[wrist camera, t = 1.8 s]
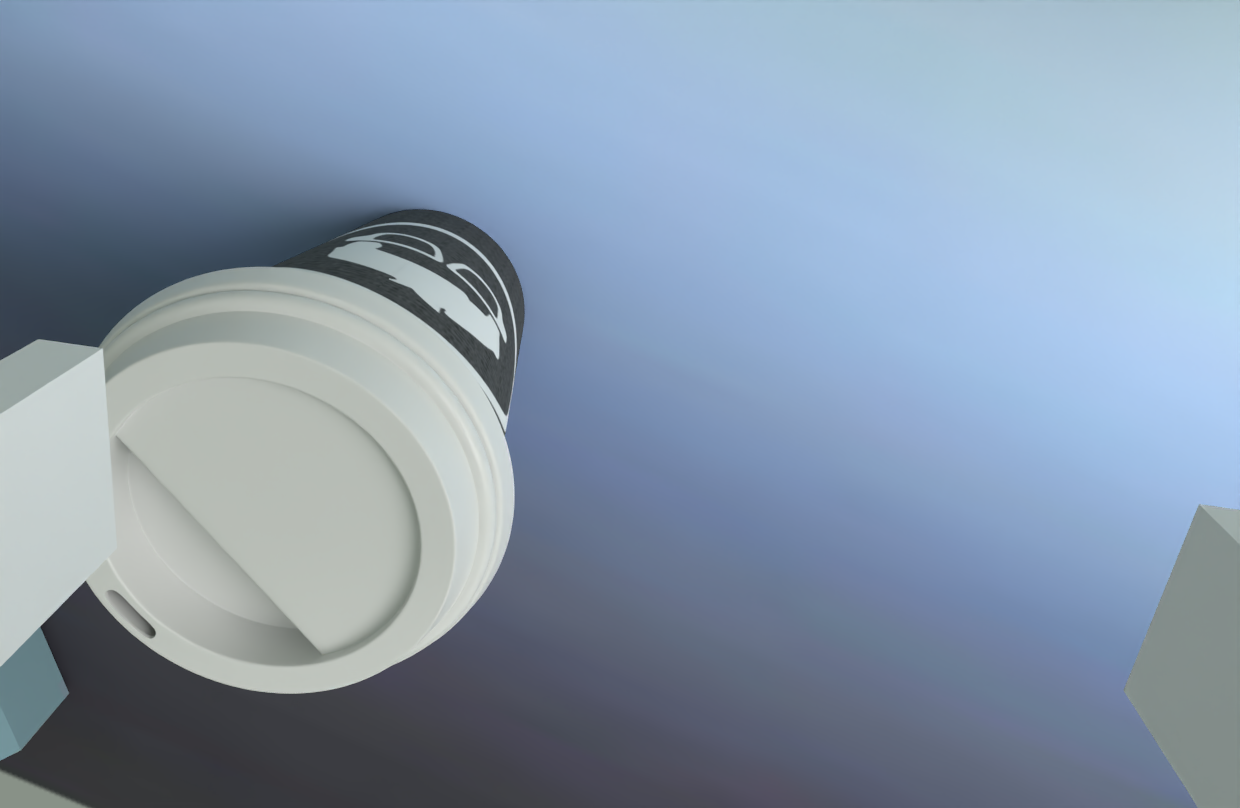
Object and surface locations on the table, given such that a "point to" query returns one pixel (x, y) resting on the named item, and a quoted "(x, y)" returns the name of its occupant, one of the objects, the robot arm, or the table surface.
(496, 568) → the coffee cup
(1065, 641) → the table surface
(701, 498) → the table surface
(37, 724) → the book
